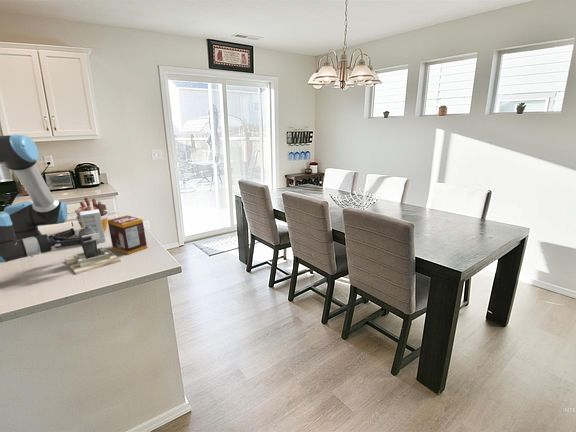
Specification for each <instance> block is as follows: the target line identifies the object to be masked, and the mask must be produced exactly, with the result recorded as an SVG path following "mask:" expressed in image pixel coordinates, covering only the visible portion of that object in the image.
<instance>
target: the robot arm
mask: <svg viewBox="0 0 576 432" xmlns="http://www.w3.org/2000/svg"><path fill="white" fill-rule="evenodd" d="M39 158H40V153H39V151H38V146H37V145H36V142H35V141H34V140H33V139H32V138H31V137H29V136H27V135H24V134H22V135H21V134H12V135H0V164H4V165H5V167H6V168H7V169H8V170H10V171H13V172H14V174H15V175H16V177H17V178H18V180H19V182H20V183H21V185H22V187H23V188H24V190H25V192H26V193H27V195H28V196H29V198H30V200H31V201H23V202H18V203H17V202H16V203H13V204H10V205H7V206H5V207H4V209H3V212H2V211H1V212H0V264H3V263H8V262H12V261H15V260H19V259H23V258H28V257H30V258H33V257H34V256H35V255H39V254H40V253H41V254H46V253H50V252H52V247H54V248H55V249H59V248H65V247H73V246H82V245H84V242H88V241H92V240H96V239H100V235H99V233H94V234H90V235H85V236H82V237H78V234H79V231H80V230H81V229H82V228H81V227H80V228H77V229H74V227H72V228H70V229H66V230H64V231H60V232H58V233H55V234H51V235H48V234H47V233H45V234H42V233H41V231H40V230H39V228H38V227H39V226H49V225H51V226H52V225H58V224H63V223H66V221H67V219H68V206H67V203H66V202H65V201H60V200H59V198H58V197H56V196H54V195H52V192H51V190H50V189H49V187H48V185H47V183H46V181H45V179H44V177H43V175H42V173H40V170H39V169H38V167H37V165H36V164H37V162H38V160H39ZM90 228H91V227H90ZM73 236H74V237H73ZM75 236H77V237H75Z"/></svg>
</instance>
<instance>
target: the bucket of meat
mask: <svg viewBox="0 0 576 432" xmlns="http://www.w3.org/2000/svg"><path fill="white" fill-rule="evenodd" d="M84 202H85V203H84ZM84 202H83V201H80V202H79V205H80V207H78V208H77V209H75V210H74V211H75V213H76V217H75V219H76V220H77V223H78V224H79V226H80V228H83V227H82V223H81V218H80V212H83V211H90V210H97V209H99V212H100V215H101V220H102V225H103V230H104V232H105V231H106V230H107V227H108V221H107V220H108V215H109V211H108V210H107V206H106V205H105V204H102V200H98V201H97V200H96V199H95V198H92V199H91V202H92V204H91V202H90V200H89V198H88V197H84Z"/></svg>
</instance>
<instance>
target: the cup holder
mask: <svg viewBox="0 0 576 432" xmlns="http://www.w3.org/2000/svg"><path fill="white" fill-rule="evenodd" d="M97 253H98V256H97V257H93V258H89V259H86V257H85V254H84V251H83V252H80V253H79V252H78V253H75V254H73V255H72V256H73V257H69V258H65V259H64V262H65V263H66V264H67V266H68V267H69V268H70V270H72V272H73V273H74V274H75V275H78V274H81V273H82V274H83V273H85V272H89V271H92V270H95V269H99V268H103V267H106V266H109V265H112V264H116V263H119V262H120V263H121V258H120V257H118V255H116V254H114V253H113V252H112V251H111V250H110V249H108V248H103V247H99V248H98V247H97Z"/></svg>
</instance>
